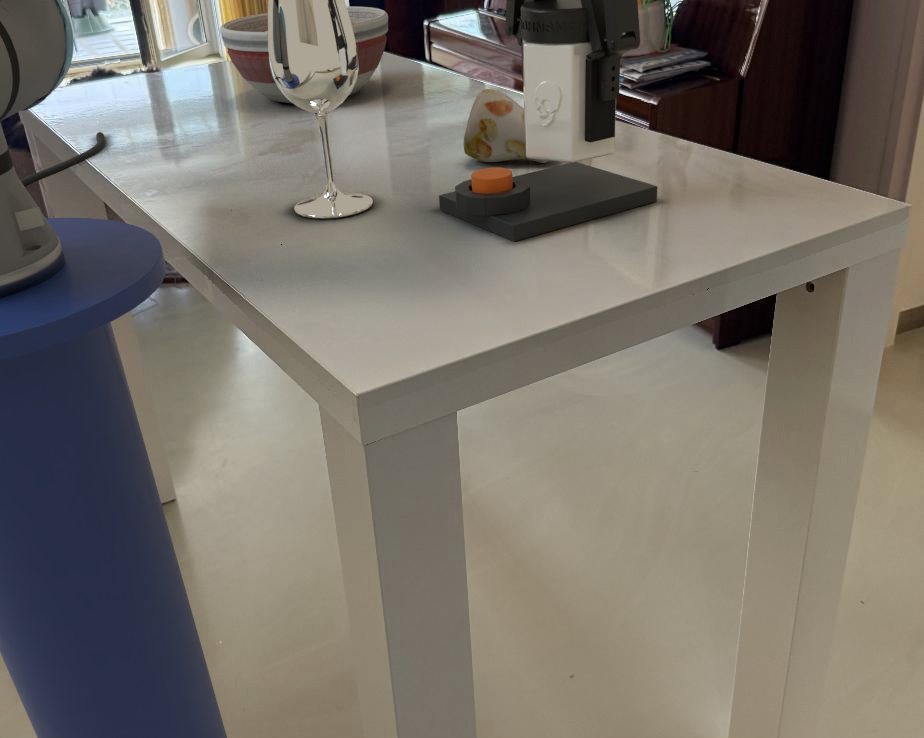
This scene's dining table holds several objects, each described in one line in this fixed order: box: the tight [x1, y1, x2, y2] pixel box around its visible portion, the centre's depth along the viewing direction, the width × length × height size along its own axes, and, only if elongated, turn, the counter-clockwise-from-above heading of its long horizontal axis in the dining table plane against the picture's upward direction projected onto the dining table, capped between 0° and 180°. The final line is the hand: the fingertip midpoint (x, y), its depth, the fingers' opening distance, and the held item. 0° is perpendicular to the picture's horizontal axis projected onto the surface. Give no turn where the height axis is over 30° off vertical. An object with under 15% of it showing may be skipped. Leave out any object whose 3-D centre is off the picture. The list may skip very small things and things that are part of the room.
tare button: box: [470, 167, 513, 194], centre depth 85 cm, size 4×4×2 cm
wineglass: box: [267, 0, 374, 220], centre depth 88 cm, size 8×8×20 cm
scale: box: [438, 161, 659, 242], centre depth 89 cm, size 12×17×3 cm
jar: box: [520, 0, 617, 163], centre depth 85 cm, size 9×8×12 cm
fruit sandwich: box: [463, 88, 549, 164], centre depth 102 cm, size 8×10×10 cm
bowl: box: [219, 5, 389, 104], centre depth 136 cm, size 23×23×10 cm
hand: (568, 130), depth 87 cm, fingers closed on jar, 8 cm apart
